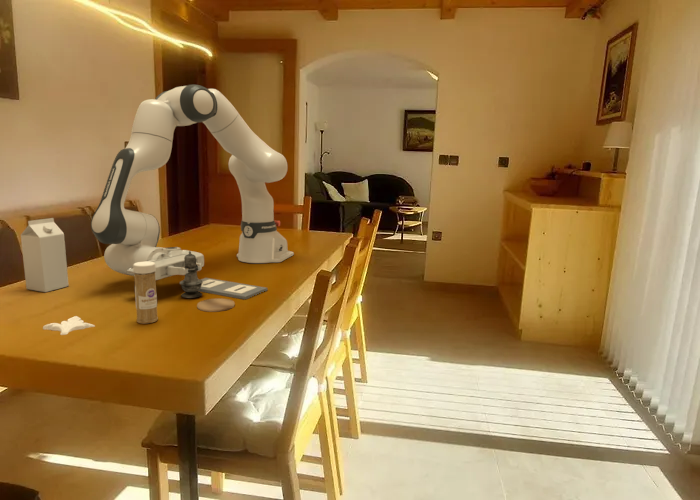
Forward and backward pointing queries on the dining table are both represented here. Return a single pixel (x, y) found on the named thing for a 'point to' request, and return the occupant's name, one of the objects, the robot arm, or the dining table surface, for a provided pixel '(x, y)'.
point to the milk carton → (44, 256)
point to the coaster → (215, 305)
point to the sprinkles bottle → (145, 292)
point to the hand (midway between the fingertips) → (193, 269)
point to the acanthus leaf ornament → (68, 325)
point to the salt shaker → (191, 278)
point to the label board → (230, 288)
